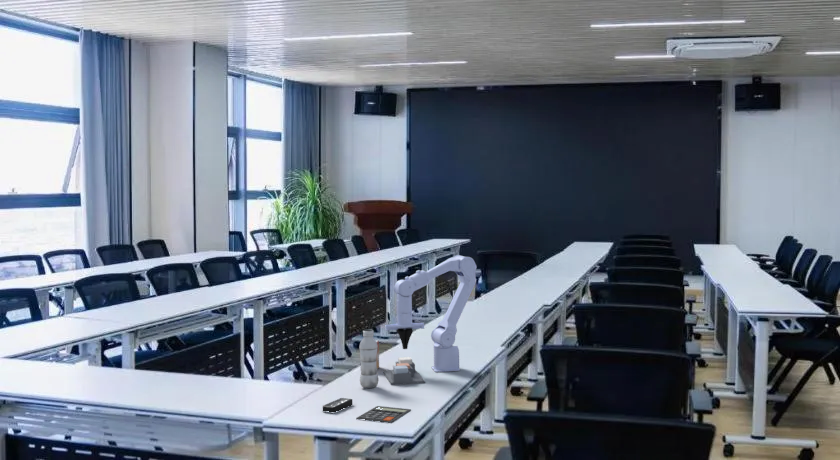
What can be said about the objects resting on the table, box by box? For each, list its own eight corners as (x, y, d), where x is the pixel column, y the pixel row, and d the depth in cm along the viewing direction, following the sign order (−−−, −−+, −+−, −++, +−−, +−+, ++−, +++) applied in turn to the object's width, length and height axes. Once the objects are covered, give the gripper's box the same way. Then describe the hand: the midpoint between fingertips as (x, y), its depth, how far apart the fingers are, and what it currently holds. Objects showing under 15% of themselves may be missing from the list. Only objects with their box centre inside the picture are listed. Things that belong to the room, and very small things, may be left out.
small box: (374, 371, 316) (374, 344, 315) (360, 371, 317) (359, 343, 316) (379, 367, 324) (379, 340, 323) (365, 366, 325) (365, 339, 324)
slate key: (405, 372, 301) (405, 365, 300) (408, 375, 296) (407, 368, 296) (393, 373, 300) (393, 366, 300) (395, 375, 295) (395, 368, 295)
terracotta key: (408, 369, 308) (407, 363, 308) (410, 372, 304) (410, 365, 303) (396, 370, 307) (396, 363, 307) (398, 373, 303) (398, 366, 303)
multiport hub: (322, 413, 261) (322, 405, 261) (341, 404, 271) (341, 397, 270) (334, 414, 259) (333, 407, 259) (353, 406, 268) (352, 399, 268)
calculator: (355, 417, 252) (377, 405, 266) (355, 420, 252) (377, 408, 266) (391, 421, 248) (411, 408, 261) (391, 424, 248) (411, 411, 261)
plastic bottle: (381, 386, 293) (380, 329, 292) (374, 390, 287) (373, 332, 286) (364, 384, 295) (363, 328, 294) (356, 389, 289) (355, 331, 288)
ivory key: (410, 363, 315) (409, 357, 315) (412, 366, 311) (412, 359, 311) (398, 364, 314) (398, 357, 314) (400, 366, 310) (400, 360, 310)
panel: (414, 370, 316) (414, 360, 316) (424, 383, 297) (424, 372, 296) (382, 372, 314) (382, 362, 314) (391, 385, 294) (391, 374, 294)
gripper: (421, 309, 316) (421, 345, 317) (383, 311, 313) (383, 347, 314) (425, 312, 309) (425, 349, 310) (386, 314, 306) (387, 351, 307)
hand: (405, 348), depth 311 cm, fingers closed
